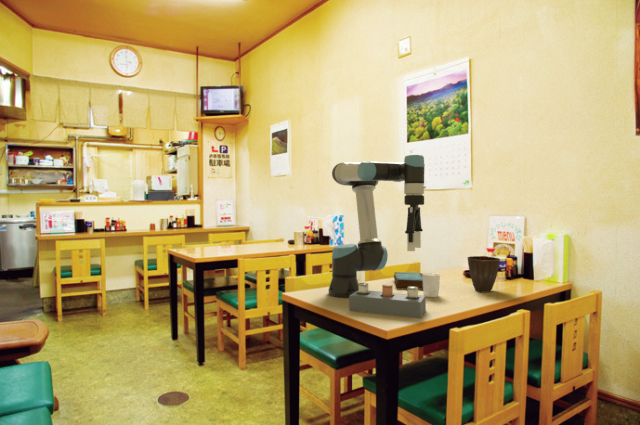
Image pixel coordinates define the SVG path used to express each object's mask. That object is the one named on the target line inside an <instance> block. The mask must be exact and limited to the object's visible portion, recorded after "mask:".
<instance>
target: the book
mask: <svg viewBox="0 0 640 425" xmlns="http://www.w3.org/2000/svg"><path fill="white" fill-rule="evenodd" d="M393 273H394V275H393V280H394V282H395V286H396V288H397V290H398V289H399V290H402V289H406V290H407V287H418V290H423V279H422V274H423V272H398V271H396V272H393Z"/></svg>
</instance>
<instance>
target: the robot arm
mask: <svg viewBox="0 0 640 425" xmlns="http://www.w3.org/2000/svg"><path fill="white" fill-rule="evenodd" d="M331 170H332V171H331V176H332V179H333V181H335V183H337V184H339V185H342V186H348V187H350V186H351V187H352V188H351V190H352V192H353V193H355V200H356V207H357V208H356V210H357V219H358V220H357V222H358V230H359V231H358V232H359V241H358V243H357V244H356V243H347V244H346V243H345V244H340V245H336V246H334V247H333V248H332V249H331V250H332V252H331V254H332V255H331V269H332V270H331V271H332V272H331V280H330V283H329V287H328V296H331V297H335V298H349V295H351V294H353V293H354V292H356V291H358V290H359V283H360V282H359V281H358V276H357V275H358V272H368V271H370V272H371V271H372V272H373V271H374V272H375V271H381V270H383V269H384V268H385V267H386V264H387V262H388V257H389V254H388V249H387V247H386V246H384V245H382V241H381V240H380V239H379V238H378V236H379V235H378V228H377V219H376V208H375V201H374V191H375V189H376V186H377V185H378V183H379V181H380V182H381V181H383V182H393V183H394V182H396V183H397V182H398V183H400V182H404V183H403V184H404V187H403V188H404V191H403V194H405V196H404V199H403V200H404V205H405V206H409V207H407V217H406V218H407V219H406V230H405V231H404V233H405V234H406V235H407V236H406V237H407V238H406V239H407V241H406V243H407V247H406V250H407V252H415V251H416V248H417V249H420V248H421V247H422V244H421V241H422V240H421V239H422V238H421V232H423V228H422V219H421V217H422V216H421V207H420V206H424V205H425V195H424V194H425V189H427V187H426V185H425V157H424V155H422V154H407V155H405V156H404V160H403V162H387V161H385V162H384V161H383V162H381V161H379V162H378V161H361V162H353V161H351V162H349V161H344V162H339V163H337V164H336V165H335V166H334V167H333V168H332V169H331Z"/></svg>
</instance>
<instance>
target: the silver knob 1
mask: <svg viewBox="0 0 640 425" xmlns="http://www.w3.org/2000/svg"><path fill="white" fill-rule="evenodd" d="M358 283H359V294H360V295H368V291H369V283H368V282H358Z"/></svg>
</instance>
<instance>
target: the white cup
mask: <svg viewBox="0 0 640 425" xmlns="http://www.w3.org/2000/svg"><path fill="white" fill-rule="evenodd" d="M422 273H423V272H422ZM440 278H441V275H440V273H435V272H434V273H433V272H424V273H423V274H422V279H423V289H422V290H423V291H422V292H423V293H422V294H423V295H425V296H426V298H437V297H439V294H440V292H439V291H440V283H441V282H440Z"/></svg>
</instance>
